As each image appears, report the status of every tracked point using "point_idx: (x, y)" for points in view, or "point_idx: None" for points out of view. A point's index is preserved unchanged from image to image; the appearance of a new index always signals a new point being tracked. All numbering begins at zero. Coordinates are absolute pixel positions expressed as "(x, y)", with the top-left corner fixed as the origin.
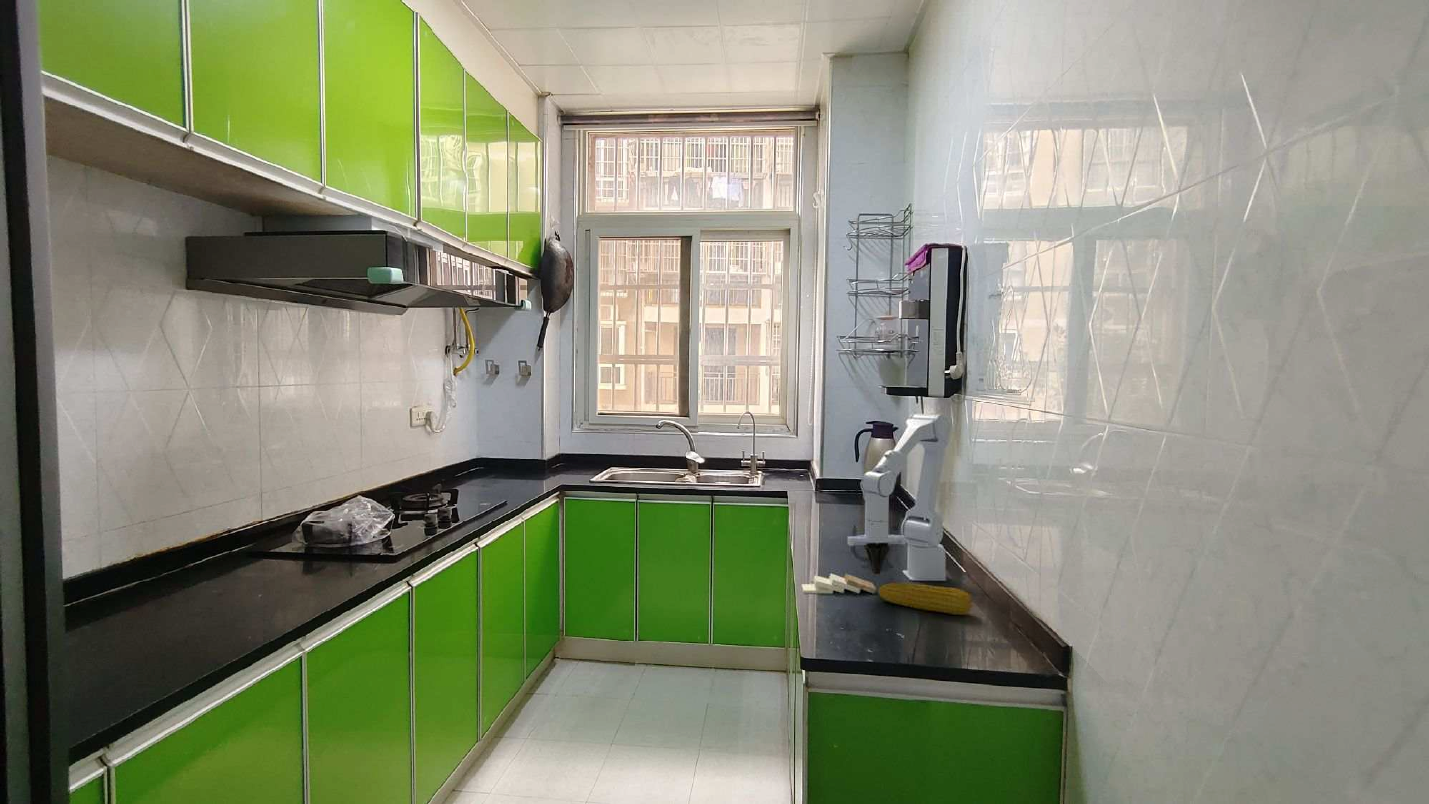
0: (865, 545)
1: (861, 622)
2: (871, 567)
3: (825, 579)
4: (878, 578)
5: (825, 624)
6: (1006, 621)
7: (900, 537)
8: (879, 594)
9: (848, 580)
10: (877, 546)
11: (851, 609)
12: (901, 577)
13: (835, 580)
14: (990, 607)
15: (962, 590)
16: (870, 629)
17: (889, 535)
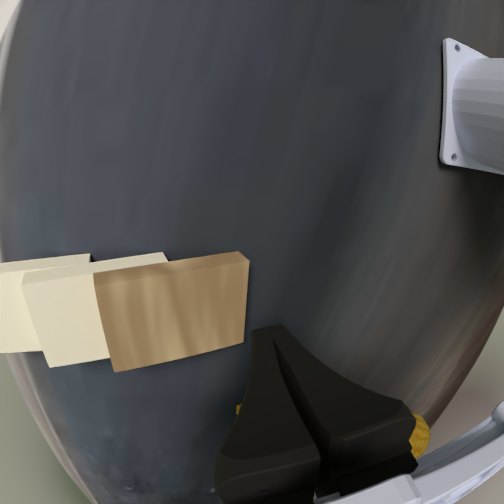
0: (224, 502)
1: (165, 478)
2: (252, 344)
3: (15, 295)
4: (319, 99)
5: (96, 479)
6: (438, 415)
7: (490, 474)
8: (237, 406)
9: (115, 370)
10: (325, 484)
11: (140, 440)
12: (422, 100)
13: (60, 364)
14: (469, 363)
15: (420, 454)
16: (181, 491)
17: (487, 465)
